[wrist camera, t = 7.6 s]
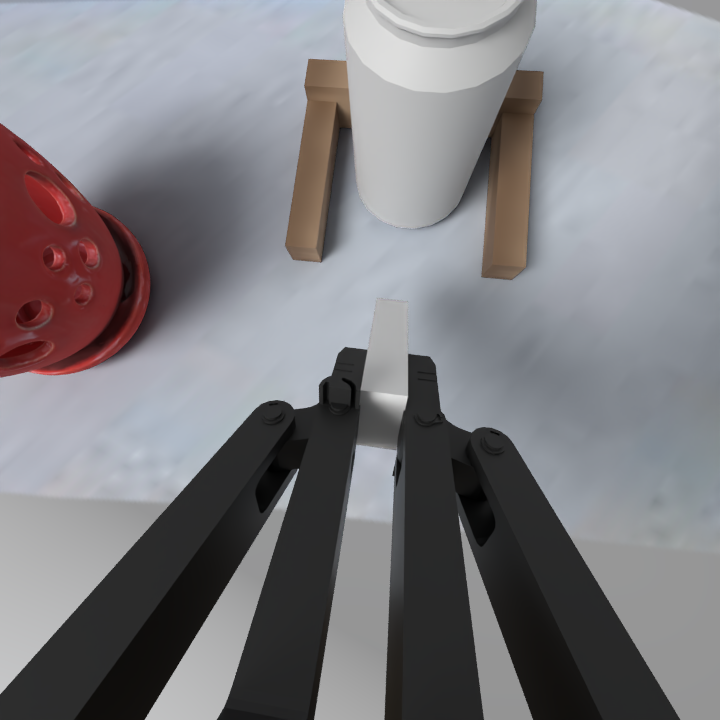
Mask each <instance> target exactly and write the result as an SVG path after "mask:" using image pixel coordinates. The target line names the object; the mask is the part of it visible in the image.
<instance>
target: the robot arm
mask: <svg viewBox="0 0 720 720" xmlns="http://www.w3.org/2000/svg"><path fill="white" fill-rule="evenodd" d="M356 445H363V446H370V447H377V448H385V449H392V450H396V449H397V457H396V461H395V466H394V471H393V475H392V476H395V477H394V502H393V526H392V551H391V575H390V600H389V623H388V647H387V671H386V695H385V720H484V717H483V709H482V701H481V694H480V687H479V686H480V685H479V678H478V669H477V662H476V653H475V645H474V637H473V630H472V621H471V613H470V606H469V597H468V589H467V581H466V573H465V565H464V557H463V549H462V541H461V533H460V525H459V517H458V514H459V516H460V519H461V522H462V525H463V527H464V530H465V533H466V536H467V538H468V541H469V544H470V546H471V549H472V552H473V555H474V557H475V560H476V563H477V566H478V569H479V571H480V574H481V577H482V580H483V583H484V585H485V588H486V591H487V594H488V596H489V599H490V602H491V605H492V607H493V610H494V613H495V616H496V618H497V621H498V624H499V627H500V629H501V632H502V635H503V638H504V640H505V643H506V646H507V649H508V651H509V654H510V657H511V660H512V663H513V665H514V668H515V671H516V673H517V676H518V679H519V682H520V684H521V687H522V690H523V693H524V696H525V698H526V701H527V704H528V707H529V709H530V712H531V715H532V718H533V720H680V718H679V717H678V715H677V714H676V712H675V710H674V709H673V707H672V705H671V704H670V702H669V700H668V699H667V697H666V695H665V694H664V692H663V690H662V689H661V687H660V685H659V684H658V682H657V681H656V679H655V677H654V676H653V674H652V672H651V671H650V669H649V667H648V666H647V664H646V662H645V661H644V659H643V657H642V656H641V654H640V652H639V651H638V649H637V648H636V646H635V644H634V643H633V641H632V639H631V638H630V636H629V634H628V633H627V631H626V629H625V628H624V626H623V624H622V623H621V621H620V619H619V618H618V616H617V614H616V613H615V611H614V610H613V608H612V606H611V604H610V603H609V601H608V600H607V598H606V596H605V595H604V593H603V591H602V590H601V588H600V586H599V585H598V583H597V581H596V580H595V578H594V576H593V575H592V573H591V571H590V570H589V568H588V567H587V565H586V563H585V562H584V560H583V558H582V556H581V555H580V553H579V552H578V550H577V548H576V547H575V545H574V543H573V542H572V540H571V538H570V537H569V535H568V533H567V532H566V530H565V528H564V527H563V525H562V523H561V522H560V520H559V518H558V517H557V515H556V513H555V512H554V510H553V509H552V507H551V505H550V504H549V502H548V500H547V499H546V497H545V495H544V494H543V492H542V490H541V489H540V487H539V485H538V484H537V482H536V480H535V479H534V477H533V475H532V474H531V472H530V470H529V469H528V467H527V466H526V464H525V462H524V461H523V459H522V457H521V456H520V454H519V452H518V451H517V449H516V447H515V446H514V444H513V443H512V441H511V440H510V439H509V438H508V437H507V436H506V435H505V434H503V433H502V432H500V431H498V430H495V429H493V428H486V427H482V428H478V429H476V430H475V431H473V432H472V433H470V432H468V431H465V430H463V429H460V428H458V427H456V426H454V425H452V424H451V423H450V422H448V421H447V420H446V418H445V415H444V414H443V413H442V412H441V409H440V401H439V392H438V384H437V375H436V366H435V364H434V362H433V361H432V359H431V358H430V357H428V356H420V355H412V354H408V301H401V300H392V299H383V298H377V300H376V305H375V311H374V317H373V322H372V328H371V334H370V339H369V345H368V350H364V349H356V348H348V347H345V348H344V349H343V350H342V351H341V352H340V353H338V356H337V359H336V364H335V366H334V370H333V373H332V376H329V377H327V378H325V379H324V380H322V382H321V383H320V385H319V403H318V404H317V405H315V406H312V407H308V408H303V409H295V410H294V409H293V407H292V406H291V405H290V404H288V403H286V402H285V401H279V400H275V401H268V402H266V403H263V404H261V405H260V406H259V407H257V408H256V409H255V410H254V411H253V412H252V413H251V415H250V416H249V417H248V418H247V419H246V420H245V421H244V422H243V424H242V425H241V426H240V427H239V428H238V429H237V430H236V431H235V432H234V434H233V435H232V436H231V437H230V438H229V439H228V440H227V441H226V443H225V444H224V445H223V446H222V447H221V448H220V449H219V450H218V451H217V453H216V454H215V455H214V456H213V457H212V458H211V459H210V460H209V462H208V463H207V464H206V465H205V466H204V467H203V468H202V469H201V470H200V472H199V473H198V474H197V475H196V476H195V477H194V478H193V479H192V481H191V482H190V483H189V484H188V485H187V486H186V487H185V488H184V490H183V491H182V492H181V493H180V494H179V495H178V496H177V497H176V498H175V500H174V501H173V502H172V503H171V504H170V505H169V506H168V507H167V509H166V510H165V511H164V512H163V513H162V514H161V515H160V516H159V517H158V519H157V520H156V521H155V522H154V523H153V524H152V525H151V527H150V528H149V529H148V530H147V531H146V532H145V533H144V534H143V536H142V537H141V538H140V539H139V540H138V541H137V542H136V543H135V544H134V546H133V547H132V548H131V549H130V550H129V551H128V552H127V553H126V554H125V555H124V557H123V558H122V559H121V560H120V561H119V562H118V564H116V566H115V567H114V568H113V569H112V570H111V571H110V572H109V573H108V575H107V576H106V577H105V578H104V579H103V580H102V581H101V582H100V584H99V585H98V586H97V587H96V588H95V589H94V590H93V591H92V593H91V594H90V595H89V596H88V597H87V598H86V599H85V600H84V601H83V602H82V604H81V605H80V606H79V607H78V608H77V609H76V611H74V613H73V614H72V615H71V616H70V617H69V618H68V619H67V620H66V621H65V623H64V624H63V625H62V626H61V627H60V628H59V629H58V630H57V632H56V633H55V634H54V635H53V636H52V637H51V638H50V639H49V641H48V642H47V643H46V644H45V645H44V646H43V647H42V648H41V649H40V651H39V652H38V653H37V654H36V655H35V656H34V657H33V658H32V660H31V661H30V662H29V663H28V664H27V665H26V666H25V668H23V670H22V671H21V672H20V673H19V674H18V675H17V676H16V677H15V679H14V680H13V681H12V682H11V683H10V684H9V685H8V686H7V688H6V689H5V690H4V691H3V692H2V693H1V694H0V720H145V718H146V717H147V715H148V713H149V712H150V710H151V708H152V707H153V705H154V703H155V702H156V700H157V699H158V697H159V695H160V694H161V692H162V690H163V689H164V687H165V685H166V684H167V682H168V681H169V679H170V677H171V676H172V674H173V672H174V671H175V669H176V668H177V666H178V664H179V662H180V661H181V659H182V658H183V656H184V654H185V653H186V651H187V650H188V648H189V646H190V645H191V643H192V641H193V640H194V638H195V636H196V635H197V633H198V631H199V630H200V628H201V627H202V625H203V623H204V622H205V620H206V618H207V617H208V615H209V614H210V612H211V610H212V609H213V607H214V605H215V604H216V602H217V600H218V599H219V597H220V596H221V594H222V592H223V591H224V589H225V587H226V586H227V584H228V583H229V581H230V579H231V578H232V576H233V574H234V573H235V571H236V569H237V568H238V566H239V565H240V563H241V561H242V559H243V558H244V556H245V555H246V553H247V551H248V550H249V548H250V546H251V545H252V543H253V542H254V540H255V538H256V537H257V535H258V533H259V532H260V530H261V529H262V527H263V525H264V524H265V522H266V520H267V519H268V517H269V516H270V514H271V512H272V510H273V509H274V507H275V506H276V504H277V502H278V501H279V499H280V498H281V496H282V494H283V493H284V491H285V489H286V488H287V486H288V484H289V483H290V481H291V480H292V478H293V476H294V475H295V473H296V471H297V469H299V472H298V475H297V478H296V481H295V485H294V488H293V491H292V494H291V497H290V501H289V504H288V507H287V510H286V514H285V517H284V520H283V523H282V527H281V530H280V533H279V536H278V540H277V543H276V546H275V549H274V553H273V556H272V559H271V562H270V566H269V569H268V572H267V575H266V579H265V582H264V585H263V588H262V591H261V595H260V598H259V601H258V604H257V608H256V611H255V614H254V617H253V620H252V624H251V627H250V631H249V634H248V637H247V640H246V643H245V646H244V650H243V653H242V656H241V660H240V663H239V666H238V669H237V672H236V675H235V679H234V682H233V685H232V688H231V691H230V694H229V697H228V700H227V702H226V704H225V707H224V709H223V710H222V712H221V714H220V715H219V717H218V719H217V720H314V716H315V710H316V703H317V697H318V691H319V684H320V677H321V671H322V664H323V658H324V652H325V646H326V639H327V632H328V626H329V620H330V613H331V607H332V600H333V594H334V588H335V581H336V575H337V568H338V562H339V555H340V549H341V542H342V536H343V529H344V523H345V517H346V510H347V504H348V497H349V491H350V484H351V478H352V472H353V465H354V459H355V449H356Z"/></svg>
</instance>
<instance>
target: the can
mask: <svg viewBox="0 0 720 720" xmlns="http://www.w3.org/2000/svg"><path fill="white" fill-rule="evenodd" d="M536 6H537V0H345V6H344V12H343V24H344V36H345V49H346V61H347V74H348V86H349V98H350V111H351V123H352V135H353V148H354V160H355V173H356V183H357V187H358V192H359V196H360V198H361V200H362V201H363V203H364V205H365V206H366V208H367V210H368V211H369V212H371V213H372V214H373V215H374V216H375V217H377V218H378V219H379V220H380V221H382V222H385V223H387V224H390V225H392V226H394V227H399V228H410V229H416V228H421V227H426V226H431V225H433V224H435V223H436V222H438V221H440V220H442V219H444V218H446V217H447V216H448V215H449V214H450V213H451V212H452V211H453V210H454V209H455V208H456V206H457V205H458V204H459V202H460V199H461V197H462V195H463V193H464V191H465V189H466V186H467V184H468V182H469V179H470V177H471V175H472V172H473V170H474V168H475V165H476V163H477V161H478V158H479V156H480V154H481V151H482V149H483V147H484V144H485V142H486V140H487V137H488V135H489V133H490V130H491V128H492V126H493V123H494V121H495V119H496V116H497V114H498V112H499V109H500V107H501V105H502V102H503V100H504V98H505V96H506V93H507V91H508V89H509V86H510V84H511V82H512V79H513V77H514V75H515V72H516V70H517V68H518V65H519V63H520V61H521V58H522V56H523V54H524V51H525V49H526V47H527V44H528V42H529V40H530V37H531V35H532V33H533V30H534V28H535V22H536Z"/></svg>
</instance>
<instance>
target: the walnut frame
mask: <svg viewBox="0 0 720 720" xmlns="http://www.w3.org/2000/svg"><path fill="white" fill-rule="evenodd" d="M304 86H305V91H306V95H307V100H308V101H307V108H306V114H305V120H304V127H303V133H302V140H301V146H300V153H299V159H298V166H297V172H296V179H295V185H294V192H293V198H292V205H291V211H290V217H289V224H288V230H287V237H286V243H285V246H286V248H287V250H288V252H289V253H290V255H291V257H292V259H293V260H302V261H313V262H321V260H322V253H323V246H324V239H325V231H326V224H327V217H328V210H329V203H330V195H331V188H332V181H333V174H334V167H335V159H336V152H337V145H338V138H339V130H340V128H352V123H351V111H350V98H349V86H348V74H347V61H337V60H319V59H309V60H308V66H307V72H306V79H305V85H304ZM542 91H543V72H541V71H522V70H516V72H515V75H514V77H513V79H512V82H511V84H510V86H509V89H508V91H507V93H506V96H505V98H504V100H503V102H502V105H501V107H500V109H499V112H498V114H497V116H496V119H495V121H494V123H493V126H492V128H491V130H490V133H489V135H488V137H489V138H491V151H490V165H489V179H488V193H487V207H486V221H485V235H484V249H483V263H482V277H486V278H497V279H508V280H512V279H513V278H514V277H515V276H517V275H518V274H519V273H520V272H521V271H522V270H523V269H525V268H526V254H527V235H528V217H529V198H530V179H531V161H532V142H533V123H534V113H535V112H536V110H537V108H538V106H539V104H540V103H541V101H542Z"/></svg>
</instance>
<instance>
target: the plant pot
mask: <svg viewBox="0 0 720 720" xmlns="http://www.w3.org/2000/svg"><path fill="white" fill-rule="evenodd" d="M149 296H150V273H149V267H148V263H147V260H146V257H145V254H144V252H143V250H142V248H141V246H140V244H139V243H138V241H137V239H136V238H135V236H134V235H133V234H132V233H131V232H130V230H129V229H128V228H127V227H126V226H125V225H124V224H123V223H121V222H120V221H119V220H118V219H116V218H115V217H114V216H112V215H111V214H109V213H107V212H105V211H103V210H101V209H98V208H96V207H93V206H92V205H91V204H90V203H89V202H88V201H87V200H86V198H85V197H84V196H83V195H82V194H81V193H80V192H79V191H78V190H77V189H76V188H75V186H74V185H73V184H72V183H71V182H70V181H69V180H68V179H67V178H66V177H64V176H63V175H62V174H61V173H60V172H59V171H58V170H57V169H56V168H55V167H54V166H53V165H52V164H51V163H49V162H48V161H47V160H46V159H45V158H44V157H43V156H42V155H40V154H39V153H38V152H37V151H35V150H34V149H33V148H32V147H31V146H29V145H28V144H27V143H26V142H25V141H23V140H22V139H21V138H19V137H18V136H17V135H15V134H14V133H13V132H11V131H10V130H9V129H7V128H6V127H5V126H3V125H2V124H1V123H0V377H6V376H11V375H16V374H20V373H24V372H32V373H37V374H43V375H63V374H71V373H76V372H80V371H83V370H86V369H89V368H91V367H93V366H96V365H98V364H100V363H102V362H103V361H105V360H106V359H108V358H110V357H111V356H113V355H114V354H115V353H117V352H118V351H119V350H120V349H121V348H122V347H123V346H124V345H125V344H126V343H127V342H128V341H129V340H130V339H131V337H132V336H133V335H134V333H135V332H136V330H137V329H138V327H139V325H140V324H141V322H142V319H143V317H144V315H145V312H146V309H147V305H148V301H149Z"/></svg>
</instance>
